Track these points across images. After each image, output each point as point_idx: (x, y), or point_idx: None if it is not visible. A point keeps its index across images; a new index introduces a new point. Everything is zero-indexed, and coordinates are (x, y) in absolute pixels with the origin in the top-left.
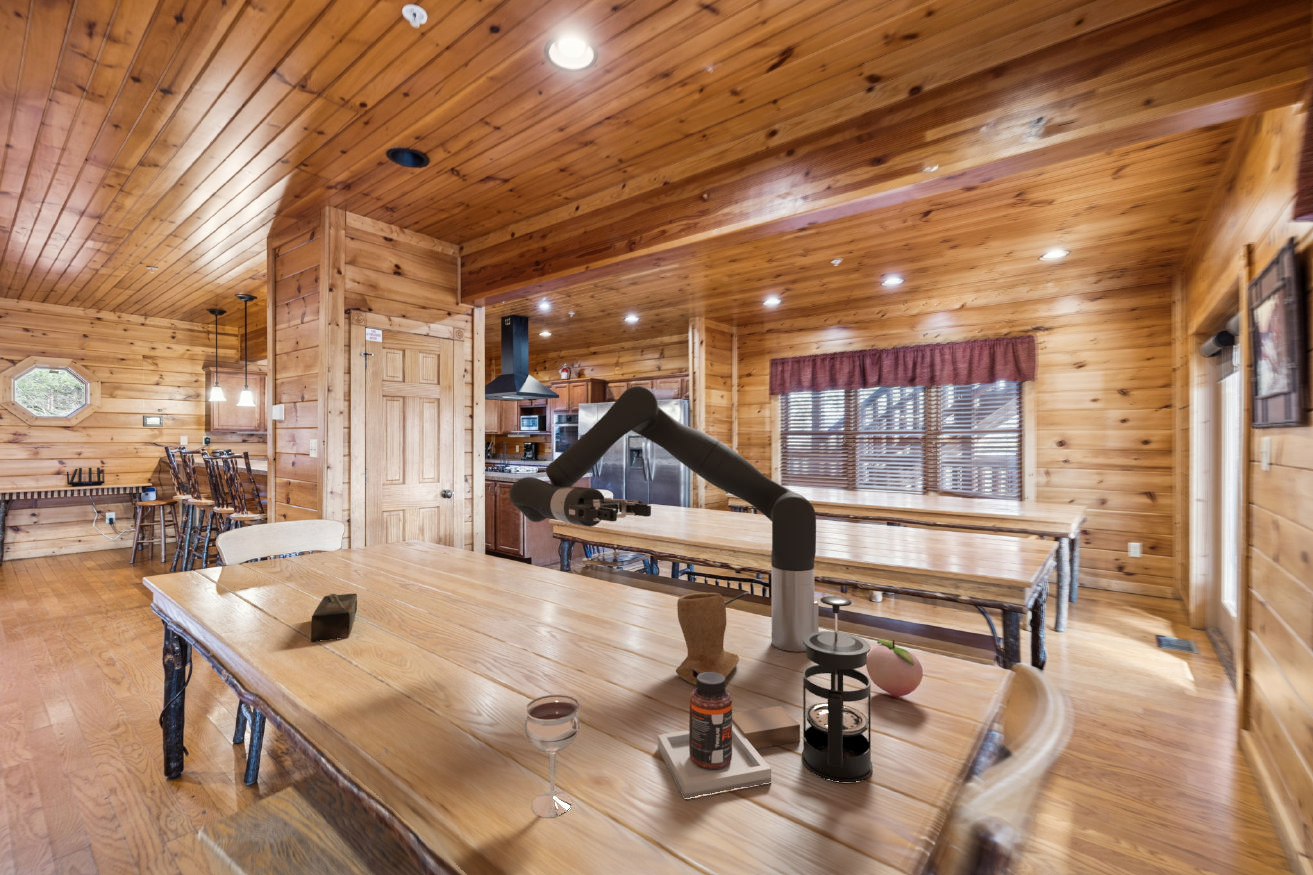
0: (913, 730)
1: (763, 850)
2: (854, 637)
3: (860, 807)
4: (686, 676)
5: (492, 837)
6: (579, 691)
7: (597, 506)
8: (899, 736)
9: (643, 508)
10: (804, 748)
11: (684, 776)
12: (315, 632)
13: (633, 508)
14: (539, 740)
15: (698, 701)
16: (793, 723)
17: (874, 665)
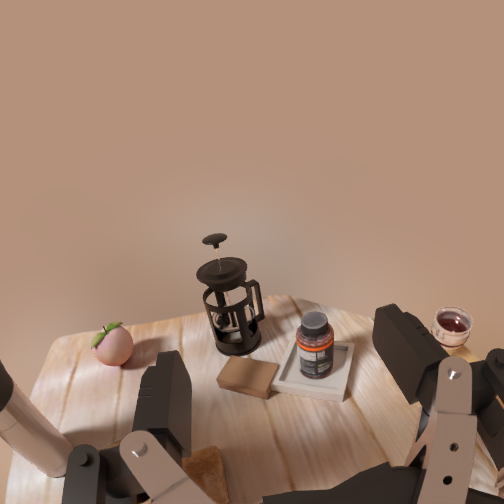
0: (164, 338)
1: (334, 314)
2: (200, 270)
3: (266, 316)
4: (225, 487)
5: (466, 355)
6: None
7: (455, 363)
8: (178, 338)
9: (180, 382)
10: (253, 341)
11: (350, 348)
12: None
13: (173, 456)
14: (457, 320)
15: (331, 327)
16: (233, 358)
17: (124, 345)
